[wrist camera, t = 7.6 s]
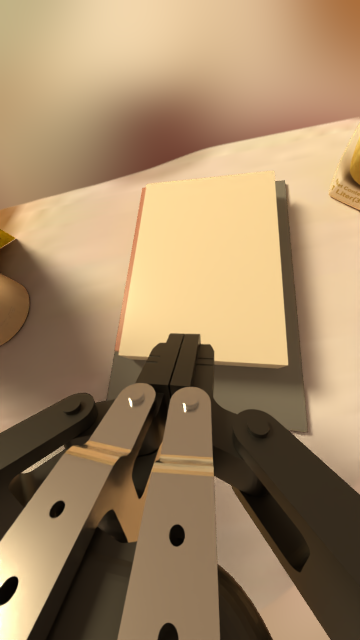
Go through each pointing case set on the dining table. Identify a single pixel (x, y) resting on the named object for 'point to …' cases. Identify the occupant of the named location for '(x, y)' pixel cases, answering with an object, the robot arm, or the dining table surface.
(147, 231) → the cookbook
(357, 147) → the juice carton
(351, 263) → the dining table surface
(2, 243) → the food package
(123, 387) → the mat
